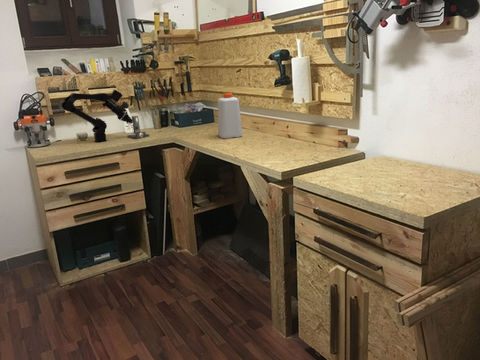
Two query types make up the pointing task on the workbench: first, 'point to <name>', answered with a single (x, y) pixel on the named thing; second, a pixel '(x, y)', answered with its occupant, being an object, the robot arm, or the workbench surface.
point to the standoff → (135, 124)
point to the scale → (138, 135)
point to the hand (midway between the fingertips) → (132, 121)
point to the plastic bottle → (229, 117)
